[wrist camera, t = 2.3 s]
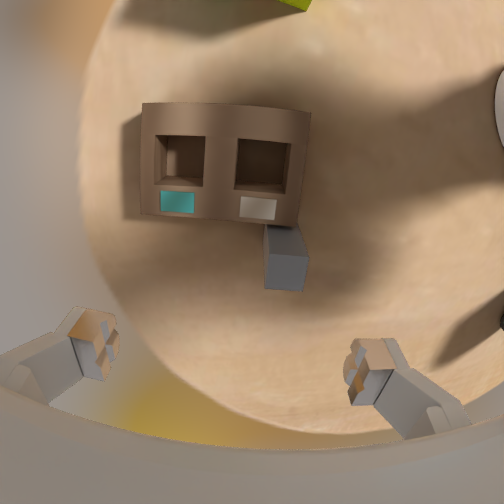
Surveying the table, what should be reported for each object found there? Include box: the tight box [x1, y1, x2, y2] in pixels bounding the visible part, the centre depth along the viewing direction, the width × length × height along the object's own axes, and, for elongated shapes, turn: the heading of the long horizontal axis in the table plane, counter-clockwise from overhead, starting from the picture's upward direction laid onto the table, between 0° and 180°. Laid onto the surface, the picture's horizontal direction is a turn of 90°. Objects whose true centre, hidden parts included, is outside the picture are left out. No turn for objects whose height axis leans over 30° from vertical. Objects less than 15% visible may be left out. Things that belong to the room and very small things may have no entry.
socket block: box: [140, 103, 311, 227], centre depth 26 cm, size 14×10×4 cm
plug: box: [263, 224, 309, 291], centre depth 27 cm, size 3×3×9 cm
